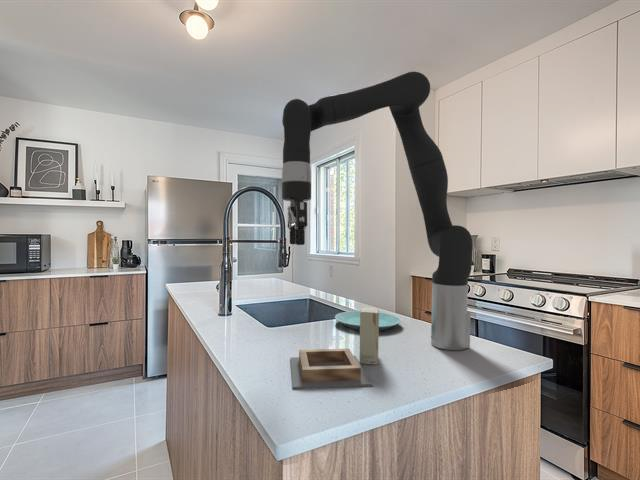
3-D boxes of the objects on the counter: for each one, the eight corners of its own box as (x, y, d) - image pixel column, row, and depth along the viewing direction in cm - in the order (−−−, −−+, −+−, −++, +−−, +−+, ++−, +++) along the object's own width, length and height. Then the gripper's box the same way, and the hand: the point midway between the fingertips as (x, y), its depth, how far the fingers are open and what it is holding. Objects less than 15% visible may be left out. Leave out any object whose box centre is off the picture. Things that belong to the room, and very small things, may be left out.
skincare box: (377, 365, 78) (378, 313, 78) (359, 364, 79) (359, 312, 79) (378, 356, 84) (379, 307, 84) (361, 354, 85) (361, 306, 85)
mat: (355, 357, 83) (355, 355, 83) (372, 385, 68) (372, 383, 68) (290, 359, 82) (290, 357, 82) (292, 389, 66) (292, 387, 66)
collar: (348, 358, 81) (349, 348, 81) (360, 380, 69) (360, 367, 69) (299, 360, 80) (299, 349, 80) (302, 382, 68) (302, 369, 68)
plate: (363, 314, 130) (363, 307, 130) (414, 326, 114) (414, 318, 114) (321, 324, 115) (321, 316, 115) (372, 339, 99) (372, 330, 99)
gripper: (317, 177, 81) (317, 245, 81) (305, 186, 95) (305, 243, 95) (286, 176, 79) (286, 245, 79) (278, 185, 93) (278, 244, 93)
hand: (296, 244), depth 87 cm, fingers open, 8 cm apart
